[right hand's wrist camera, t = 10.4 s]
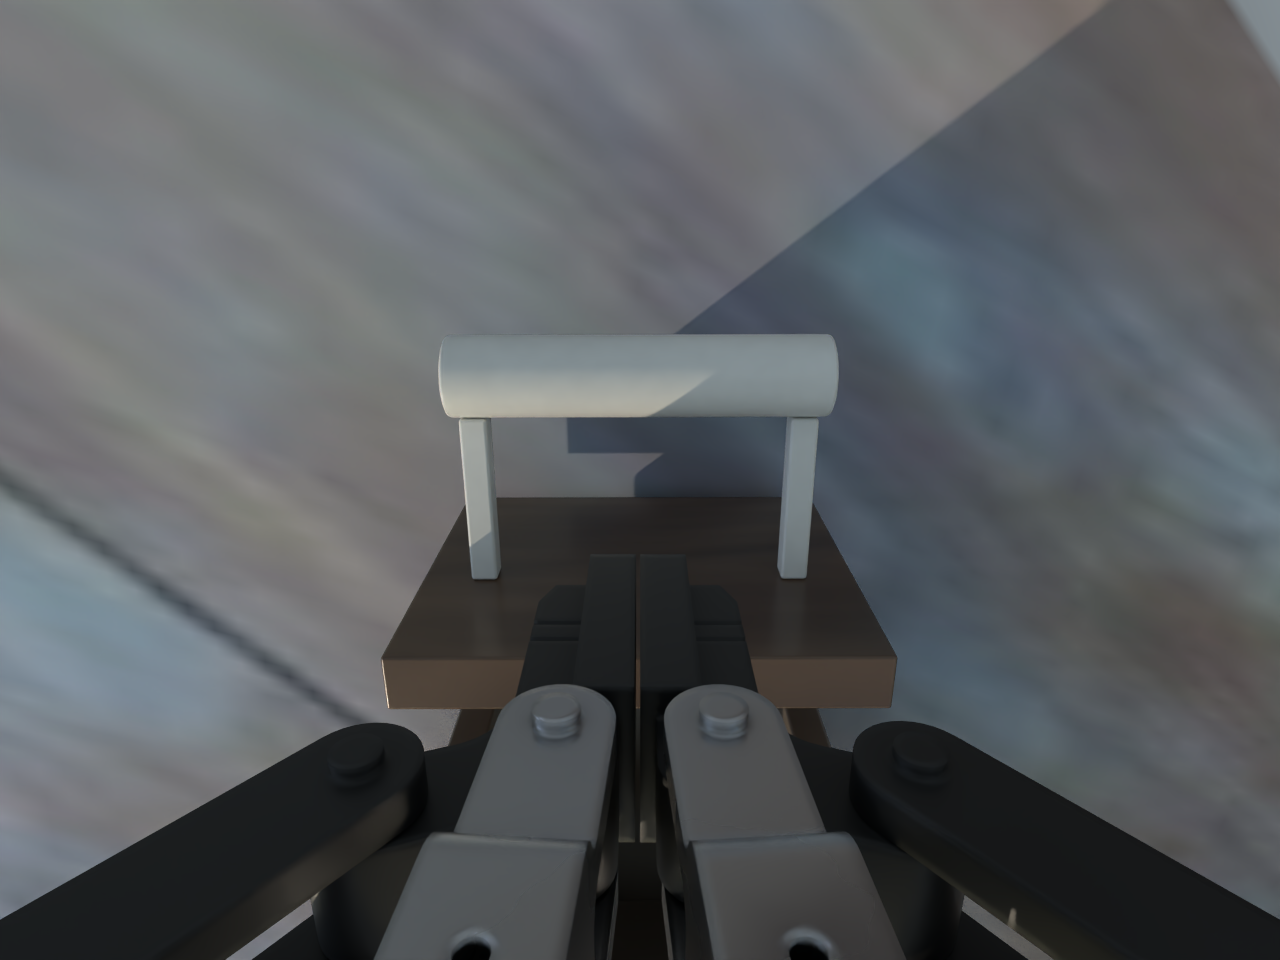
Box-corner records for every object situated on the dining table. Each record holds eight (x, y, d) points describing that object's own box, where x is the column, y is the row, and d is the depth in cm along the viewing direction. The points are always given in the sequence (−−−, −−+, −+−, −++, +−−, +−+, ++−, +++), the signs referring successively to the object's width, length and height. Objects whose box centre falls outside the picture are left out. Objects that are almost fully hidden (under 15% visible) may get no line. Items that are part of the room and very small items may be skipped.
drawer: (452, 303, 21) (340, 372, 13) (825, 302, 21) (936, 370, 13) (501, 888, 28) (447, 1158, 20) (779, 887, 28) (833, 1158, 20)
